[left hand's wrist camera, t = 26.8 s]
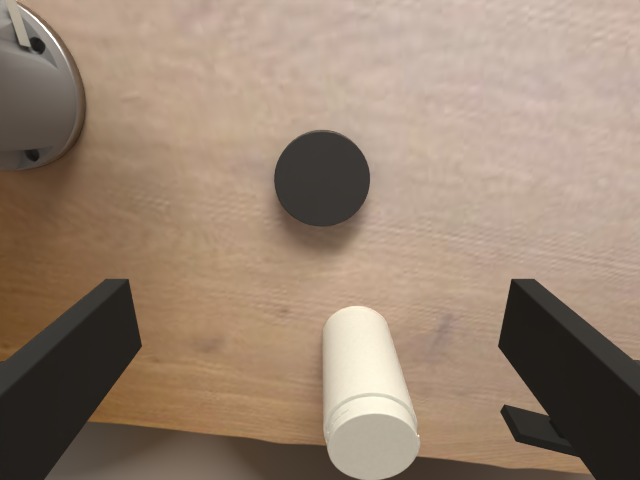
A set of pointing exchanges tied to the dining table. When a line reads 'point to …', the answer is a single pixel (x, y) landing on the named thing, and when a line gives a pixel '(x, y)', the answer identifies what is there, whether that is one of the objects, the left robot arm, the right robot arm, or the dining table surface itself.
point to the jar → (365, 397)
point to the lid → (322, 178)
